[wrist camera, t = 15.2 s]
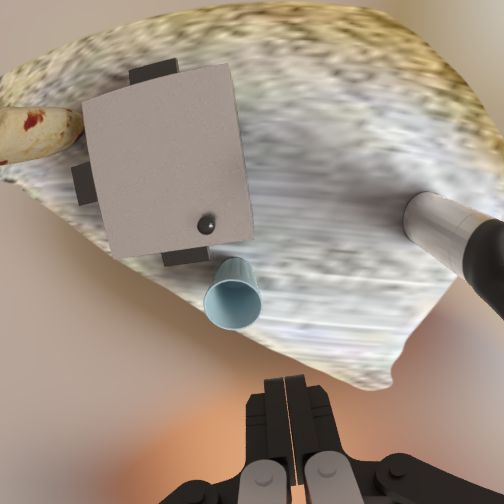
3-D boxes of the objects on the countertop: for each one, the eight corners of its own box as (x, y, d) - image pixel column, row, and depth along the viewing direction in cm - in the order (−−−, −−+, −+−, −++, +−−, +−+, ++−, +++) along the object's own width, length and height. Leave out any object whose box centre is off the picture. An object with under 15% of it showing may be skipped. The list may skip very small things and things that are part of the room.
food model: (60, 164, 43) (-23, 186, 24) (43, 134, 41) (-40, 144, 22) (100, 128, 41) (19, 130, 22) (83, 97, 39) (0, 85, 20)
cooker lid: (228, 65, 30) (226, 60, 28) (254, 236, 37) (254, 243, 35) (66, 110, 31) (56, 109, 29) (97, 259, 38) (90, 266, 36)
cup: (257, 296, 51) (259, 332, 41) (210, 292, 51) (202, 327, 41) (262, 253, 49) (265, 282, 39) (213, 249, 48) (204, 277, 38)
